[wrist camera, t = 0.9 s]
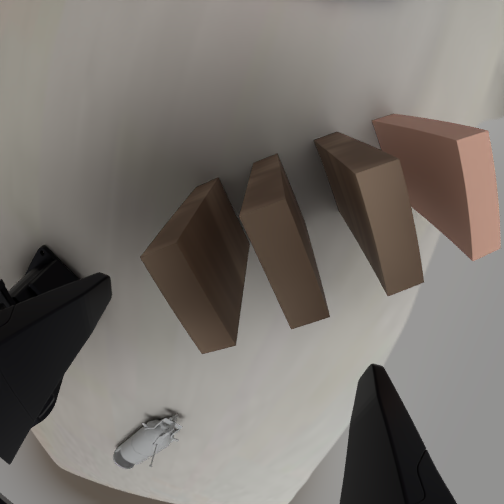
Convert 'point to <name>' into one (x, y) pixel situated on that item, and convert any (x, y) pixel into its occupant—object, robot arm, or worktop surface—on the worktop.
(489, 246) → the end domino
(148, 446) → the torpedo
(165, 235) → the domino
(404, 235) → the domino
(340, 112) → the worktop surface
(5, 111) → the worktop surface
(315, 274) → the domino
